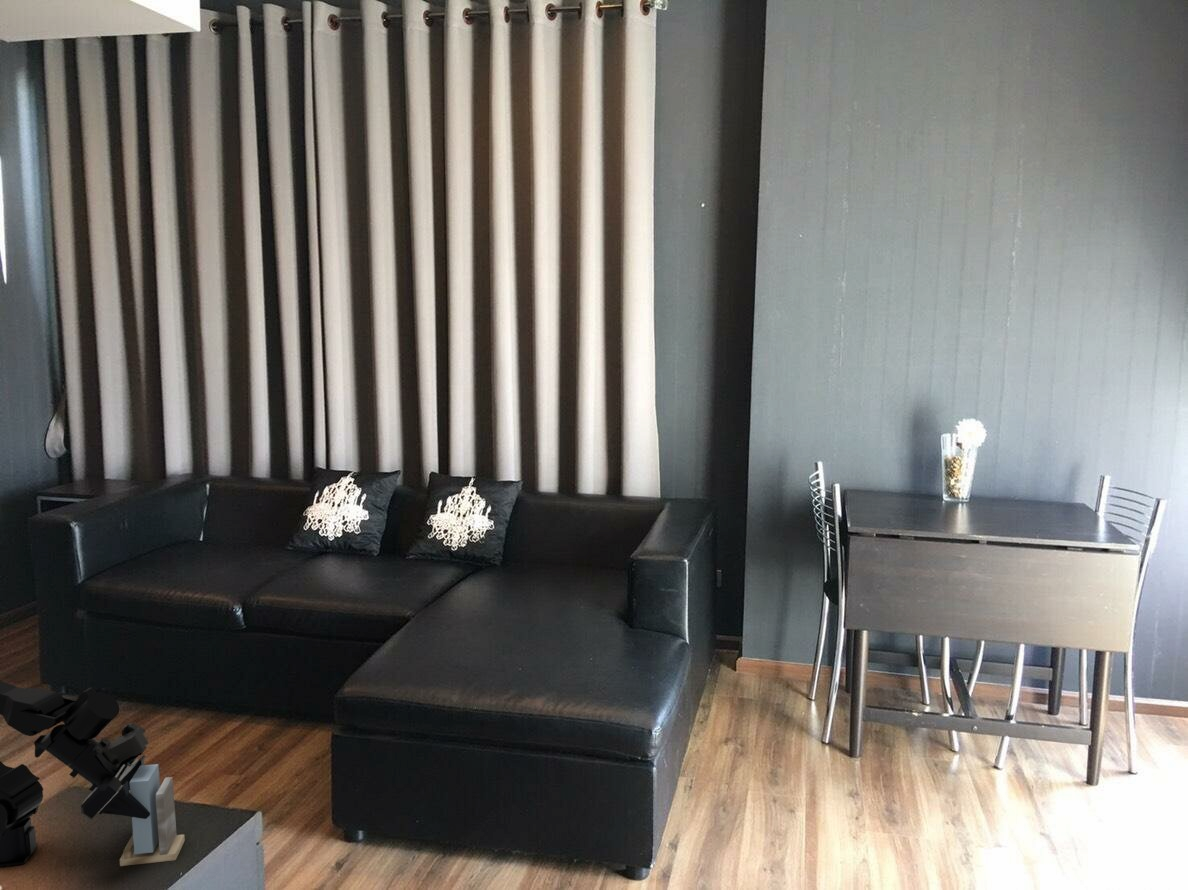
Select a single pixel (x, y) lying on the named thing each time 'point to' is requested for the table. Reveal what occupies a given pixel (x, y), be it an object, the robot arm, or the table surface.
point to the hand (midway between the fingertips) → (153, 806)
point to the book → (145, 792)
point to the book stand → (159, 831)
